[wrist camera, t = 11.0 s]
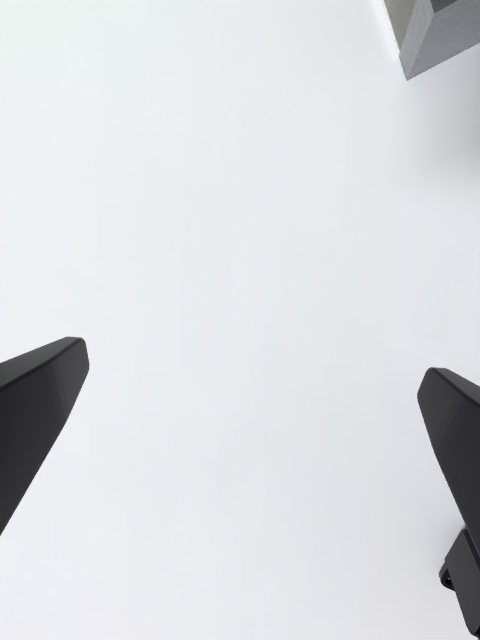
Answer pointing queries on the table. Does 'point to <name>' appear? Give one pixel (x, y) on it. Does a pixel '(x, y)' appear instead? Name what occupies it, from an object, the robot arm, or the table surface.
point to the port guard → (431, 30)
